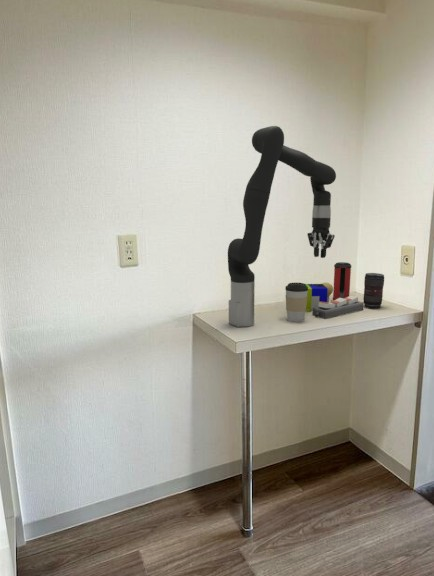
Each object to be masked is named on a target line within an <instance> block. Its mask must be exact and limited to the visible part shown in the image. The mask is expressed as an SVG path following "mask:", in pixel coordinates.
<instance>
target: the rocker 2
mask: <svg viewBox="0 0 434 576" xmlns="http://www.w3.org/2000/svg"><path fill="white" fill-rule="evenodd" d="M329 303H332V304H335V307H340V306H342V305H344V304H346V303H347V299H343V298H338V299H336V300H333V299H332V300H331V301H329Z"/></svg>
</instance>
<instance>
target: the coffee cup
mask: <svg viewBox="0 0 434 576" xmlns="http://www.w3.org/2000/svg"><path fill="white" fill-rule="evenodd" d="M306 284H307V283H303V282H289V283H288V284H287V285H285V288H284V290H285V309H286V320H287V321H289V322H294V323H296V322H297V323H298V322H300V323H302V322H304V321H305V318H306V311H305V310H306V304H307V292H308V287H307V286H306Z"/></svg>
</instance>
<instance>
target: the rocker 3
mask: <svg viewBox="0 0 434 576" xmlns="http://www.w3.org/2000/svg"><path fill="white" fill-rule="evenodd" d="M344 299H347V303H346V304H348V305H350V304H353V303H355V302H357V301H359V296H356V295H349V297H347V298H344Z"/></svg>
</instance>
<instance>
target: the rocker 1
mask: <svg viewBox="0 0 434 576" xmlns="http://www.w3.org/2000/svg"><path fill="white" fill-rule="evenodd" d="M318 306H319V307H323V308H335V304H332V303H330V302H329V303H327V302H321V301H320V302H319V305H318Z"/></svg>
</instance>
